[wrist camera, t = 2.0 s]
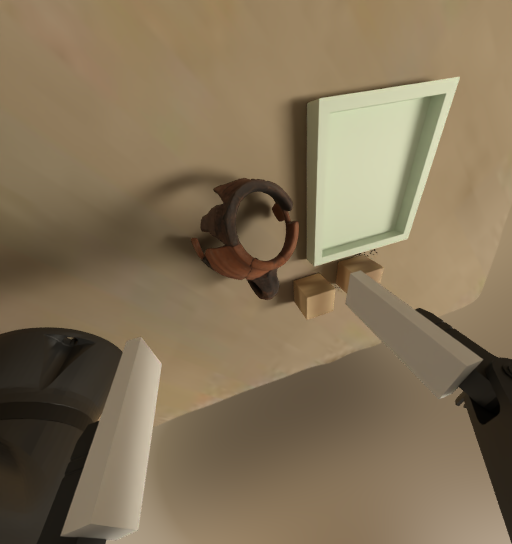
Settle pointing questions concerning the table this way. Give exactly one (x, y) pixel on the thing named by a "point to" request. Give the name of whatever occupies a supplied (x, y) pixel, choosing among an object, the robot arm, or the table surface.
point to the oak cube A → (314, 295)
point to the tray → (370, 165)
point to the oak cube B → (356, 265)
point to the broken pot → (233, 255)
